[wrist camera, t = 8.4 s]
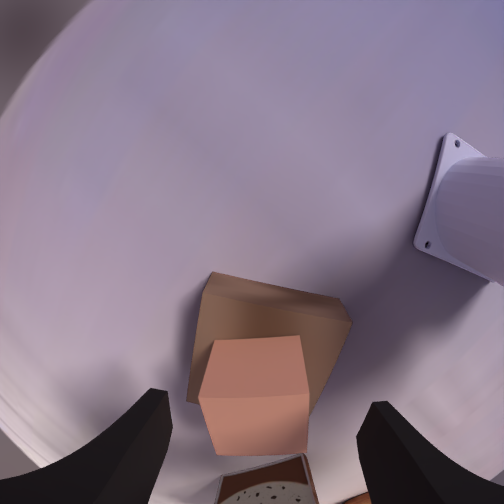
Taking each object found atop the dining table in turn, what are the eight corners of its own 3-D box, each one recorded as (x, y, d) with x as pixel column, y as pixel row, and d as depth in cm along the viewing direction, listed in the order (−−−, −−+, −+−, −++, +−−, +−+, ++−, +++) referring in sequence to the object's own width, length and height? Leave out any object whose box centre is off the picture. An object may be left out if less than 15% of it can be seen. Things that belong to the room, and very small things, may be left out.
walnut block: (337, 296, 18) (352, 322, 15) (301, 388, 20) (306, 421, 17) (213, 269, 18) (202, 292, 14) (196, 369, 20) (186, 401, 16)
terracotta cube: (299, 335, 15) (309, 393, 10) (300, 395, 16) (306, 452, 12) (214, 340, 15) (198, 397, 11) (226, 398, 16) (216, 455, 12)
